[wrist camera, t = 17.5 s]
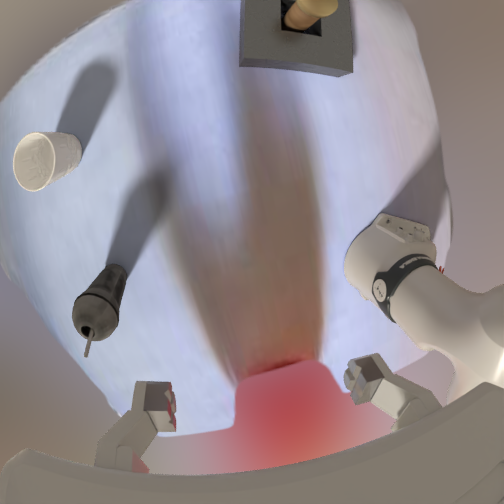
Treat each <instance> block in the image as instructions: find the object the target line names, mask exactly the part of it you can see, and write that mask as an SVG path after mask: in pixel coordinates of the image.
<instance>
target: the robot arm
mask: <svg viewBox="0 0 504 504" xmlns="http://www.w3.org/2000/svg"><path fill="white" fill-rule="evenodd" d="M387 220H388V221H387ZM386 221H387V222H386ZM436 254H437V253H436V246H435V244H434V243H433V242H432V241H430V230H429V227H427V226H426V225H423V224H420V223H417V222H413V221H410V220H406V219H403V218H399V217H396V216H392V215H388V214H385V213H381V214H379V215H378V216H377V218H376V219H375V220H374V222H373V223H372V225H371V226H370V227H368V228H367V229H366V230H364V231H363V232H362V233H360V234H359V235H358V236H357V237H356V239H355V240H354V241H353V243H352V244H351V246H350V247H349V249H348V252H347V254H346V257H345V262H344V273H345V277H346V279H347V281H348V282H349V284H350V285H352V286H353V287H354V288H356V289H357V290H359V293H360V295H361V296H362V298H364V299H365V300H370V301H371V302H372V303H373V304H374V305H375V306H376V307H378V308H379V309H380V310H381V311H382V312H384V314H385V316H386V317H387V318H389V319H390V320H391V321H392V322H394V323H397V324H398V325H399V327H400V328H401V329H402V330H403V331H404V332H405V334H406V335H407V336H408V337H409V338H410V339H411V341H412V342H413V343H414V344H415V345H416V347H418V348H419V349H421V350H424V351H431V350H438V351H439V352H441V353H443V354H444V355H446V356H447V357H448V358H449V359H450V360H451V362H452V363H453V365H454V368H455V372H454V375H453V378H452V380H451V383H450V385H449V388H448V392H447V399H446V406H445V407H442V406H441V404H440V403H439V402H438V400H437V399H436V398H435V396H434V395H433V393H432V392H431V391H430V390H428V389H426V388H423V387H421V386H419V385H417V384H415V383H413V382H411V381H409V380H407V379H405V378H403V377H401V376H399V375H397V374H393V373H392V372H391V370H390V369H389V367H388V366H387V364H386V363H385V361H384V360H383V359H382V357H381V356H380V354H378V353H374V354H371V355H366V356H362V357H358V358H355V359H351V360H350V361H349V362H348V367H349V368H348V369H347V370H346V371H345V373H344V383H345V386H346V388H347V389H348V390H350V391H351V395H350V396H351V397H352V399H353V401H354V403H355V405H358V404H362V403H365V402H369V401H370V402H371V403H373V404H374V405H375V406H377V407H378V408H380V409H381V410H383V411H384V412H386V413H387V414H388V415H390V416H391V417H393V418H394V419H396V422H395V423H394V424H393V426H392V427H391V430H392V433H390V434H388V435H385V436H383V437H380V438H378V439H375V440H373V441H370V442H367V443H365V444H362V445H359V446H356V447H353V448H350V449H347V450H344V451H341V452H337V453H334V454H330V455H327V456H323V457H320V458H316V459H312V460H308V461H303V462H299V463H294V464H289V465H284V466H279V467H273V468H268V469H261V470H253V471H245V472H236V473H224V474H207V475H168V474H165V475H164V474H150V473H149V468H148V467H147V466H146V465H145V464H144V463H143V461H142V460H141V459H140V458H141V456H142V455H143V453H144V452H145V450H146V449H147V448H148V446H149V445H150V443H151V442H152V440H153V439H154V438H155V436H156V435H157V433H158V432H176V418H175V415H174V413H175V412H176V399H175V395H174V392H173V391H172V385H171V382H155V381H136V383H135V388H134V394H133V401H132V408H131V411H130V410H128V411H127V412H126V413H125V414H124V415H123V416H122V417H121V418H120V419H119V420H118V422H117V423H116V424H115V425H114V426H113V427H112V428H111V429H110V430H109V431H108V432H107V433H106V434H105V435H104V436H103V437H102V438H101V439H100V440H99V441H98V444H97V450H96V456H95V464H94V466H91V465H86V464H82V463H77V462H73V461H69V460H65V459H61V458H58V457H55V456H51V455H48V454H44V453H42V452H39V451H36V450H33V449H24V450H22V451H21V452H19V453H18V454H16V455H15V456H14V457H12V458H11V459H10V460H9V461H7V462H6V464H5V465H4V467H3V470H2V472H1V475H0V504H504V284H502V285H499V286H496V287H494V288H492V289H491V290H489V291H488V292H485V293H476V292H471V291H469V290H466V289H464V288H462V287H460V286H459V285H458V284H456V283H455V282H454V281H452V280H451V279H449V278H448V277H446V276H445V275H444V274H443V271H444V268H443V270H442V272H441V266H440V267H439V270H438V268H437V267H436V265H435V262H436Z"/></svg>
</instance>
